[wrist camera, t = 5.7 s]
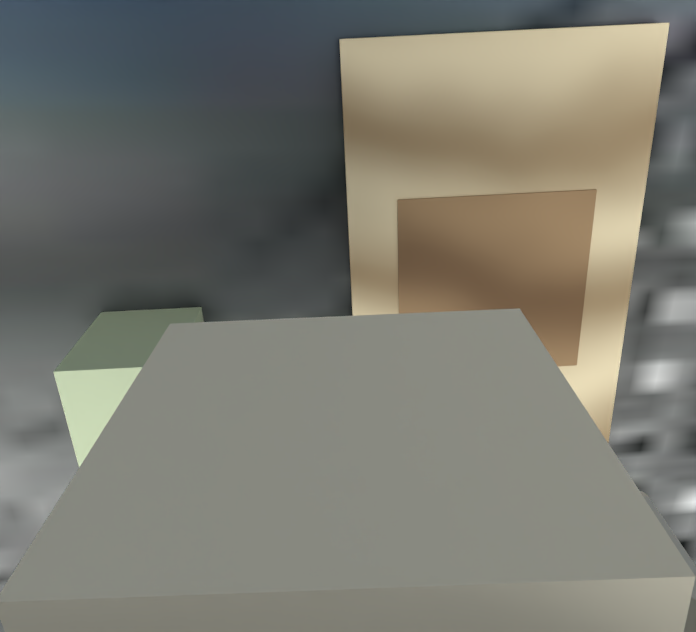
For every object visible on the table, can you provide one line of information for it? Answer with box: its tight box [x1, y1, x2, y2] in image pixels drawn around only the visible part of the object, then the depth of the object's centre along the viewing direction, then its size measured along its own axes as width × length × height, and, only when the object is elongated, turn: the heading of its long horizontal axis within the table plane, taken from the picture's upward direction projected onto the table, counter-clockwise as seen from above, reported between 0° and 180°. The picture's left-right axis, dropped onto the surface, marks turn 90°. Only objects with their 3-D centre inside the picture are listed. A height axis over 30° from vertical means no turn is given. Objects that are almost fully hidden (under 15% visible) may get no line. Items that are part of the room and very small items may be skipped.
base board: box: [339, 23, 669, 442], centre depth 28 cm, size 20×12×1 cm, turn 3°
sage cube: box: [54, 307, 204, 467], centre depth 27 cm, size 4×4×6 cm
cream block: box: [0, 308, 696, 632], centre depth 9 cm, size 6×6×6 cm
